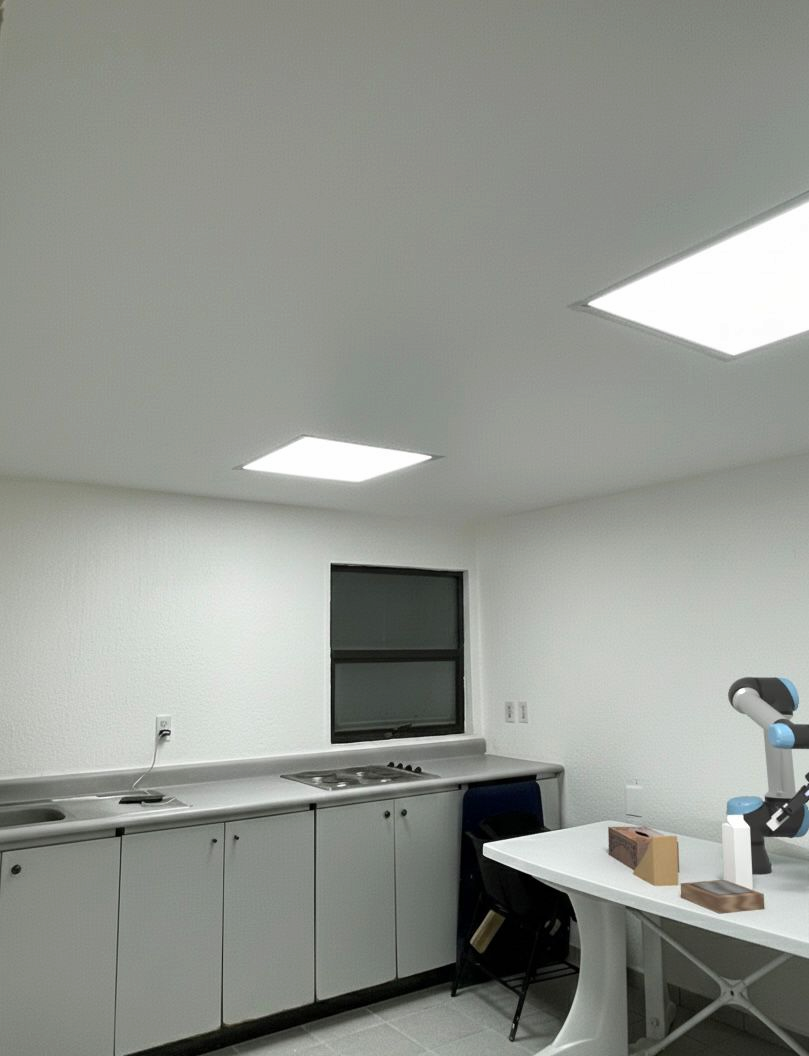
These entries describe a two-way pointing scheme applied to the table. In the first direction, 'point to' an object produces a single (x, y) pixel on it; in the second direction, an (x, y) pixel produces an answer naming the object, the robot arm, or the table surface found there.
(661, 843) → the sandwich container
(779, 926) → the table surface
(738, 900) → the walnut plinth
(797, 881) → the table surface
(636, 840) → the tissue box cover
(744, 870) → the milk
